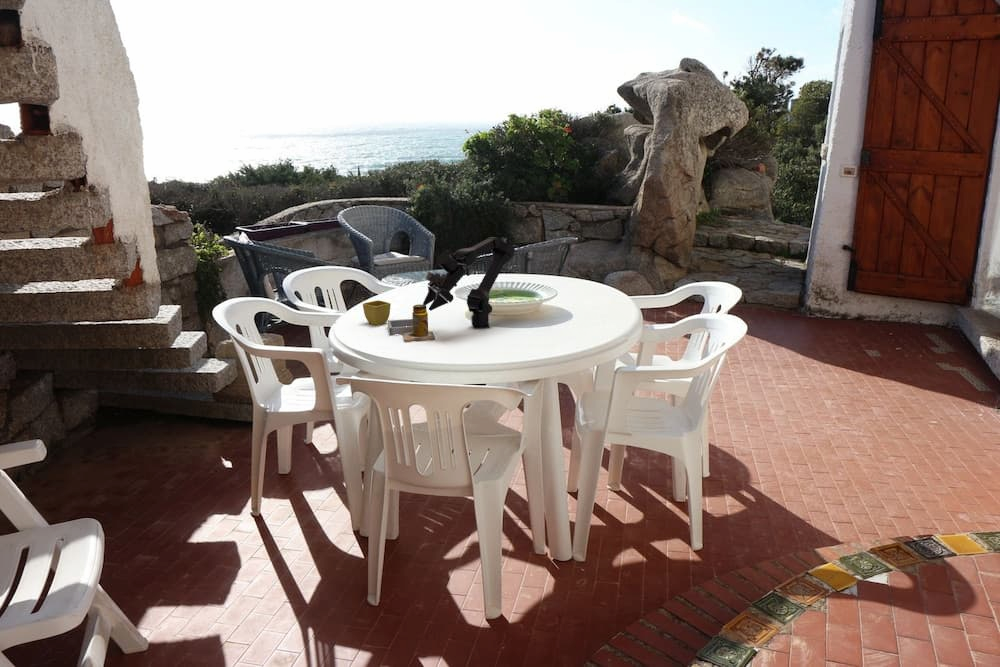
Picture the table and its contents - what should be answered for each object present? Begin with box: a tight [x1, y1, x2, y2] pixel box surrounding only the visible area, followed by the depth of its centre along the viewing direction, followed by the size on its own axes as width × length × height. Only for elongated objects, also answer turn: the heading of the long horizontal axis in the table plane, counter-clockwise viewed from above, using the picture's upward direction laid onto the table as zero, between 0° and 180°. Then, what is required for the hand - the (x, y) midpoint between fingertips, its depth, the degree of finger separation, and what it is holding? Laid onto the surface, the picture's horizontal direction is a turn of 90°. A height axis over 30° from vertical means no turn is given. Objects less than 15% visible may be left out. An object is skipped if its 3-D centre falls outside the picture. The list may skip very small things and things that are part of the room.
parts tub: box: [387, 318, 413, 336], centre depth 302 cm, size 14×13×3 cm
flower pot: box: [362, 299, 392, 326], centre depth 313 cm, size 9×9×9 cm
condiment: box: [406, 303, 431, 339], centre depth 289 cm, size 7×8×12 cm
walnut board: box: [402, 330, 436, 343], centre depth 291 cm, size 12×10×1 cm
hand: (426, 307), depth 289 cm, fingers open, 9 cm apart
